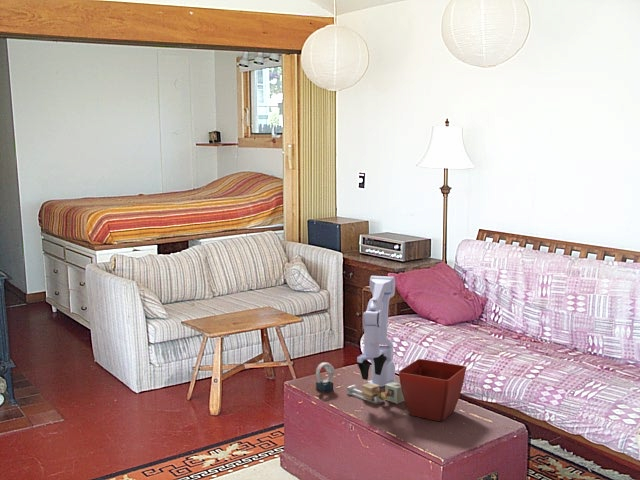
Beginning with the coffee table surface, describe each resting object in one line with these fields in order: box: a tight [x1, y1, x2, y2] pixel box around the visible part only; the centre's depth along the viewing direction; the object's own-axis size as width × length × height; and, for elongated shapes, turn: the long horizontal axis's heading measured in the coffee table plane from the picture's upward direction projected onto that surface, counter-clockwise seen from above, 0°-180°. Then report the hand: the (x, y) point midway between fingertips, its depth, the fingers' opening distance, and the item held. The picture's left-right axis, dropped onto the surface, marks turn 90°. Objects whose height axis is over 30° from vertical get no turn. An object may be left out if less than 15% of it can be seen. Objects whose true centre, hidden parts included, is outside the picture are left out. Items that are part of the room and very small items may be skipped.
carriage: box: [361, 382, 381, 400], centre depth 281 cm, size 4×5×4 cm
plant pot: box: [398, 358, 467, 422], centre depth 267 cm, size 19×19×17 cm
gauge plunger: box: [379, 390, 394, 401], centre depth 278 cm, size 7×3×3 cm, turn 133°
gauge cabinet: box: [384, 380, 405, 405], centre depth 281 cm, size 6×6×6 cm
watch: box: [315, 361, 336, 394], centre depth 292 cm, size 6×8×11 cm
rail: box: [346, 384, 385, 405], centre depth 283 cm, size 4×16×3 cm, turn 43°
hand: (371, 376), depth 279 cm, fingers open, 7 cm apart
